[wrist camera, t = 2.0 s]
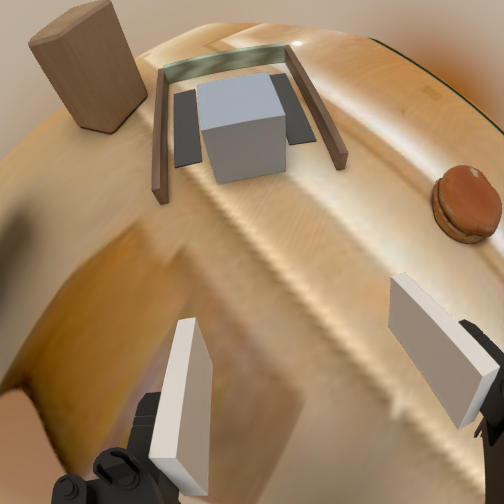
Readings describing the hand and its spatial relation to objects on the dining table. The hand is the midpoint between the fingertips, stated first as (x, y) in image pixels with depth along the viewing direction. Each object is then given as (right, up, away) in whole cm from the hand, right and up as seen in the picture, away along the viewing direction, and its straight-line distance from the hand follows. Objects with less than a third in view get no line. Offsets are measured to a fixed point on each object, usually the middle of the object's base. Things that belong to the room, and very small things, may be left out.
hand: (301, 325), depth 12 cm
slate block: (-3, +15, +24) cm, 28 cm away
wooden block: (-25, +27, +31) cm, 48 cm away
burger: (+24, +8, +19) cm, 31 cm away
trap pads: (-4, +22, +27) cm, 35 cm away
